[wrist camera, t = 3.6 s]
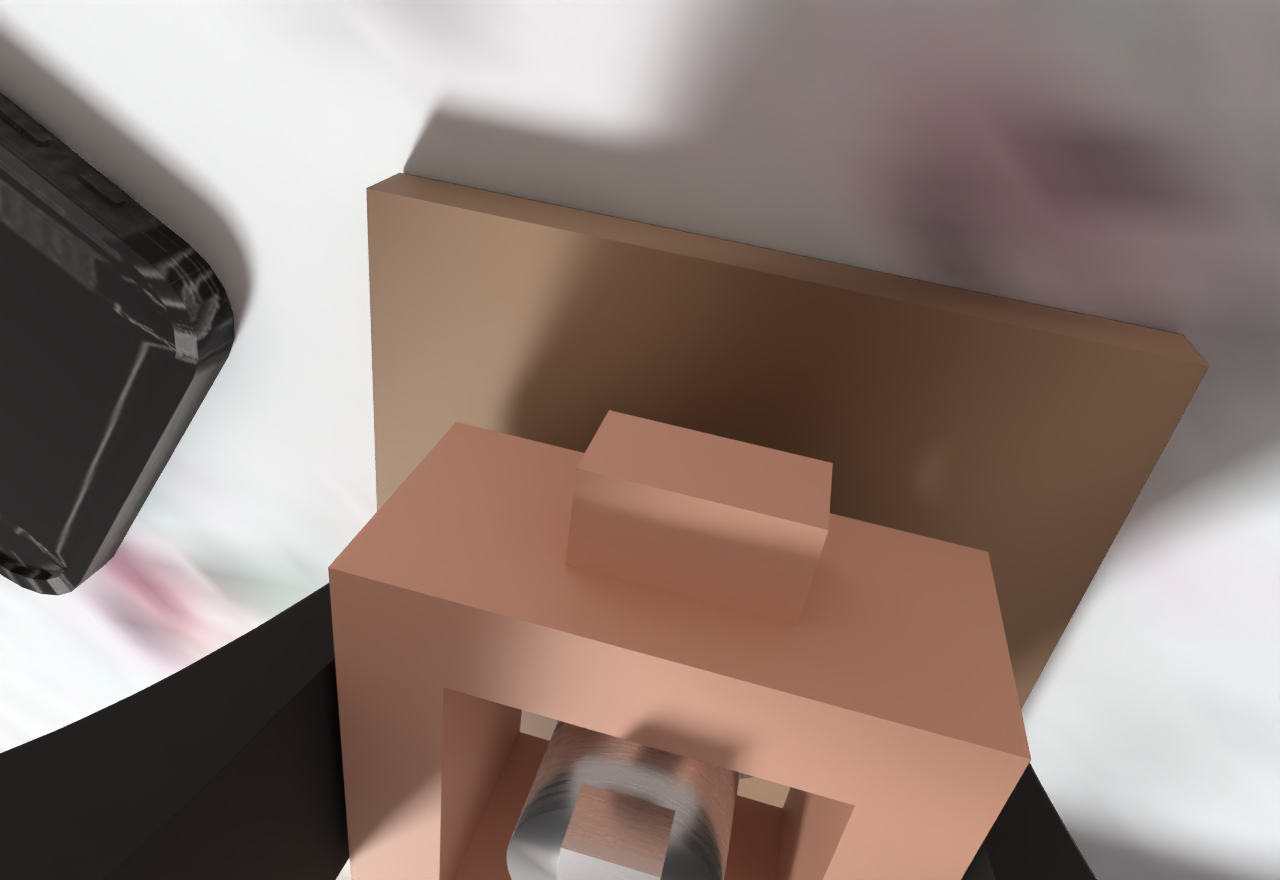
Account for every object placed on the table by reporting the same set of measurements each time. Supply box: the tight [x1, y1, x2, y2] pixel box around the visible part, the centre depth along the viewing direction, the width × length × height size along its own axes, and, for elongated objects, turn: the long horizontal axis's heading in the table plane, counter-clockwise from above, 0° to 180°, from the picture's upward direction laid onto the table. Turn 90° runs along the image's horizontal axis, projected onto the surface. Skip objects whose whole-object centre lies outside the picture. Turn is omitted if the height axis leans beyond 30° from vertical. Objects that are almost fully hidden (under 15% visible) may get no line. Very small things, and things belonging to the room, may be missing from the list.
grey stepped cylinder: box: [507, 719, 754, 880], centre depth 9 cm, size 4×4×5 cm
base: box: [366, 173, 1209, 808], centre depth 12 cm, size 9×9×1 cm
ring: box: [328, 410, 1031, 880], centre depth 9 cm, size 6×6×2 cm
